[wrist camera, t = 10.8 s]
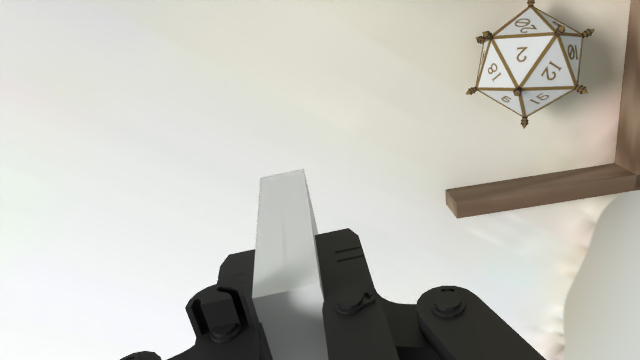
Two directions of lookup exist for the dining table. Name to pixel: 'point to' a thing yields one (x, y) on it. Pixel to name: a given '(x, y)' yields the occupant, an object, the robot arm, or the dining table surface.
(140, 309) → the dining table surface
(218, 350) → the robot arm
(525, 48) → the game die
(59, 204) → the dining table surface
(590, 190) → the brown wooden bar
